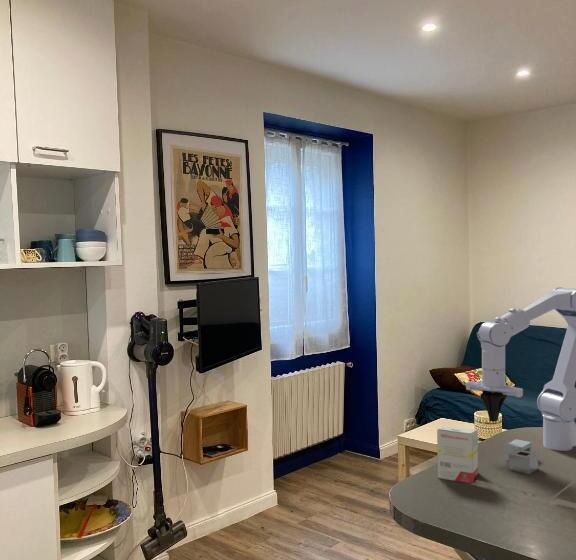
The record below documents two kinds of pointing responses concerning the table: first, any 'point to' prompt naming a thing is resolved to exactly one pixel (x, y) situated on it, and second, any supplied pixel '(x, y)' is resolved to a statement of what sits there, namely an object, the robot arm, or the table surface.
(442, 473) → the ink box
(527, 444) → the block
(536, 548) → the table surface
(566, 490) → the table surface
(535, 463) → the block
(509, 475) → the table surface
